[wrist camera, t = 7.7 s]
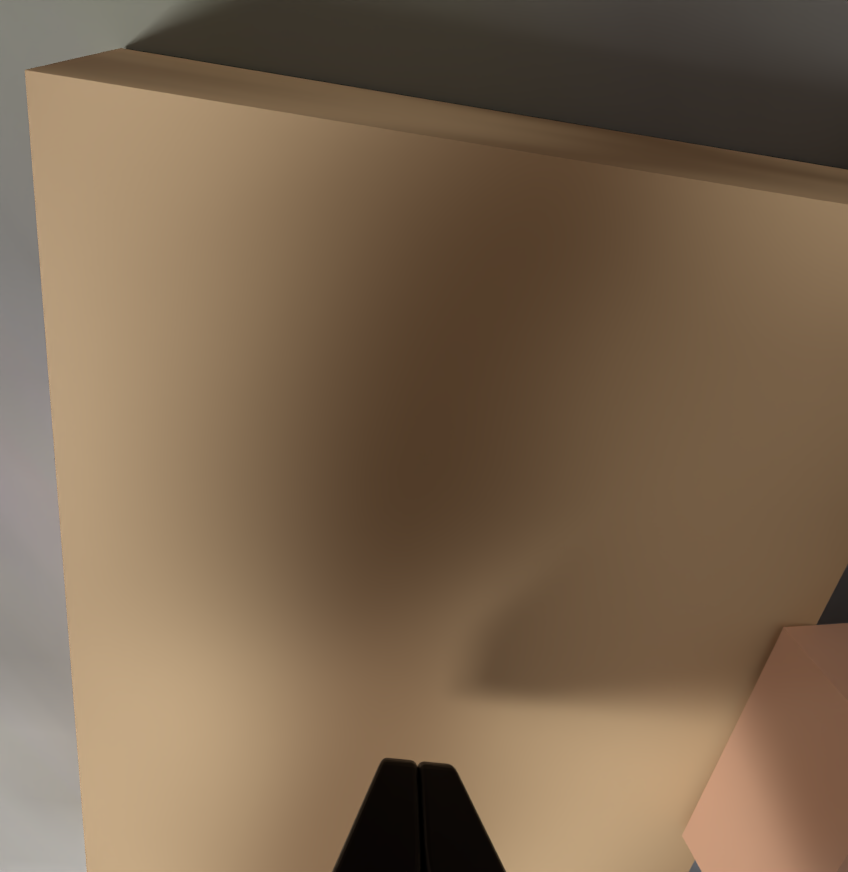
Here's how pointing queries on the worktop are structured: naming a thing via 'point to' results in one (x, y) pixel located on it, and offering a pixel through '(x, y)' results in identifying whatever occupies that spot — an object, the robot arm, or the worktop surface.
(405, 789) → the robot arm
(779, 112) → the worktop surface
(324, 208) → the tan rectangular slab
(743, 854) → the terracotta block
